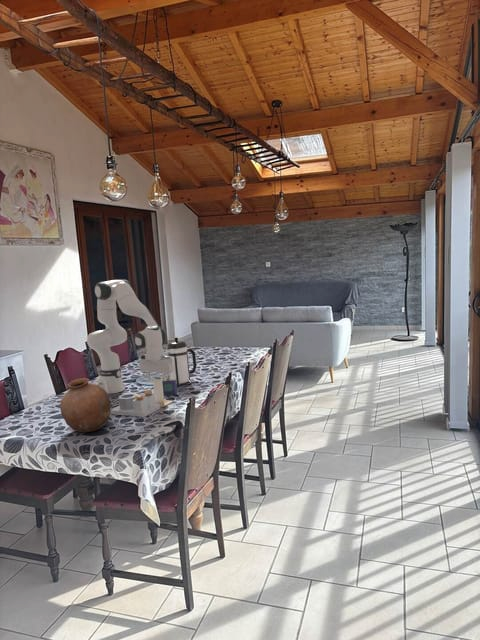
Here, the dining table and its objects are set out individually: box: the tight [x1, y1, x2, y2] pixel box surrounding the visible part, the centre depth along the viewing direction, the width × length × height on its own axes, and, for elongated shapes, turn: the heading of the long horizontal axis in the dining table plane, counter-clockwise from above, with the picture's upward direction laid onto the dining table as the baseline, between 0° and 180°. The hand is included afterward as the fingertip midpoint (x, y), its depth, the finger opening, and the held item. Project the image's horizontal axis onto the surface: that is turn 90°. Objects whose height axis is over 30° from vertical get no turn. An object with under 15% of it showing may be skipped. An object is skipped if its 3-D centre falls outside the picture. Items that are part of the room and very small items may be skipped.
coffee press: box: [165, 337, 197, 388], centre depth 300 cm, size 17×16×30 cm
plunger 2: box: [143, 389, 153, 396], centre depth 253 cm, size 4×4×7 cm
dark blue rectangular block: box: [162, 376, 178, 396], centre depth 278 cm, size 9×3×11 cm, turn 78°
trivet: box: [160, 399, 174, 409], centre depth 262 cm, size 10×10×1 cm
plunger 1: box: [135, 394, 145, 401], centre depth 246 cm, size 4×4×7 cm
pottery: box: [59, 377, 112, 433], centre depth 228 cm, size 23×23×25 cm
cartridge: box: [152, 375, 165, 405], centre depth 260 cm, size 5×5×15 cm
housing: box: [110, 392, 161, 418], centre depth 253 cm, size 22×14×8 cm, turn 65°
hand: (157, 380), depth 260 cm, fingers open, 8 cm apart
